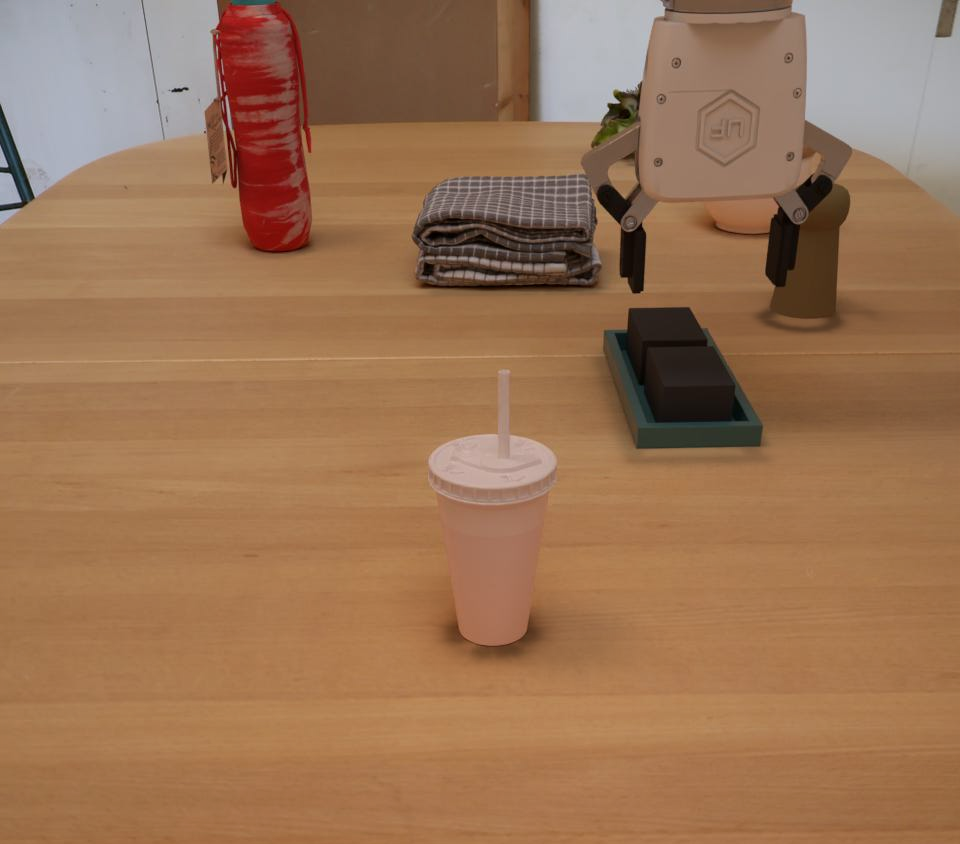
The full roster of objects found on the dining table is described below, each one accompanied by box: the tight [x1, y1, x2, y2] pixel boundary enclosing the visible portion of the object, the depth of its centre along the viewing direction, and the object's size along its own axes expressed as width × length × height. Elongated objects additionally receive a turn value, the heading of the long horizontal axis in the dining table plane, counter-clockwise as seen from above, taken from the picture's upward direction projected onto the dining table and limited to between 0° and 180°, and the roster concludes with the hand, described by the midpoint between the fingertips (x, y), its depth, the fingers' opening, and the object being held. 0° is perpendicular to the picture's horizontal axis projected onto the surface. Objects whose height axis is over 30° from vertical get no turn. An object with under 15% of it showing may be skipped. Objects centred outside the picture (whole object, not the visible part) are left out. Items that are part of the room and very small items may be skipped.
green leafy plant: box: [590, 80, 642, 150], centre depth 158 cm, size 11×11×12 cm
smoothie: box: [427, 369, 558, 647], centre depth 56 cm, size 6×6×14 cm
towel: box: [410, 173, 603, 287], centre depth 113 cm, size 15×18×8 cm
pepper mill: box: [769, 182, 851, 320], centre depth 99 cm, size 6×6×11 cm
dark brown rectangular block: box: [626, 306, 708, 385], centre depth 89 cm, size 8×5×4 cm, turn 2°
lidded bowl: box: [702, 145, 817, 235], centre depth 125 cm, size 13×13×11 cm
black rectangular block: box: [644, 346, 736, 423], centre depth 82 cm, size 8×5×4 cm, turn 2°
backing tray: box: [602, 327, 764, 450], centre depth 86 cm, size 21×9×2 cm, turn 1°
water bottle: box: [203, 0, 313, 253], centre depth 116 cm, size 12×8×25 cm, turn 81°
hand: (704, 284), depth 77 cm, fingers open, 9 cm apart
